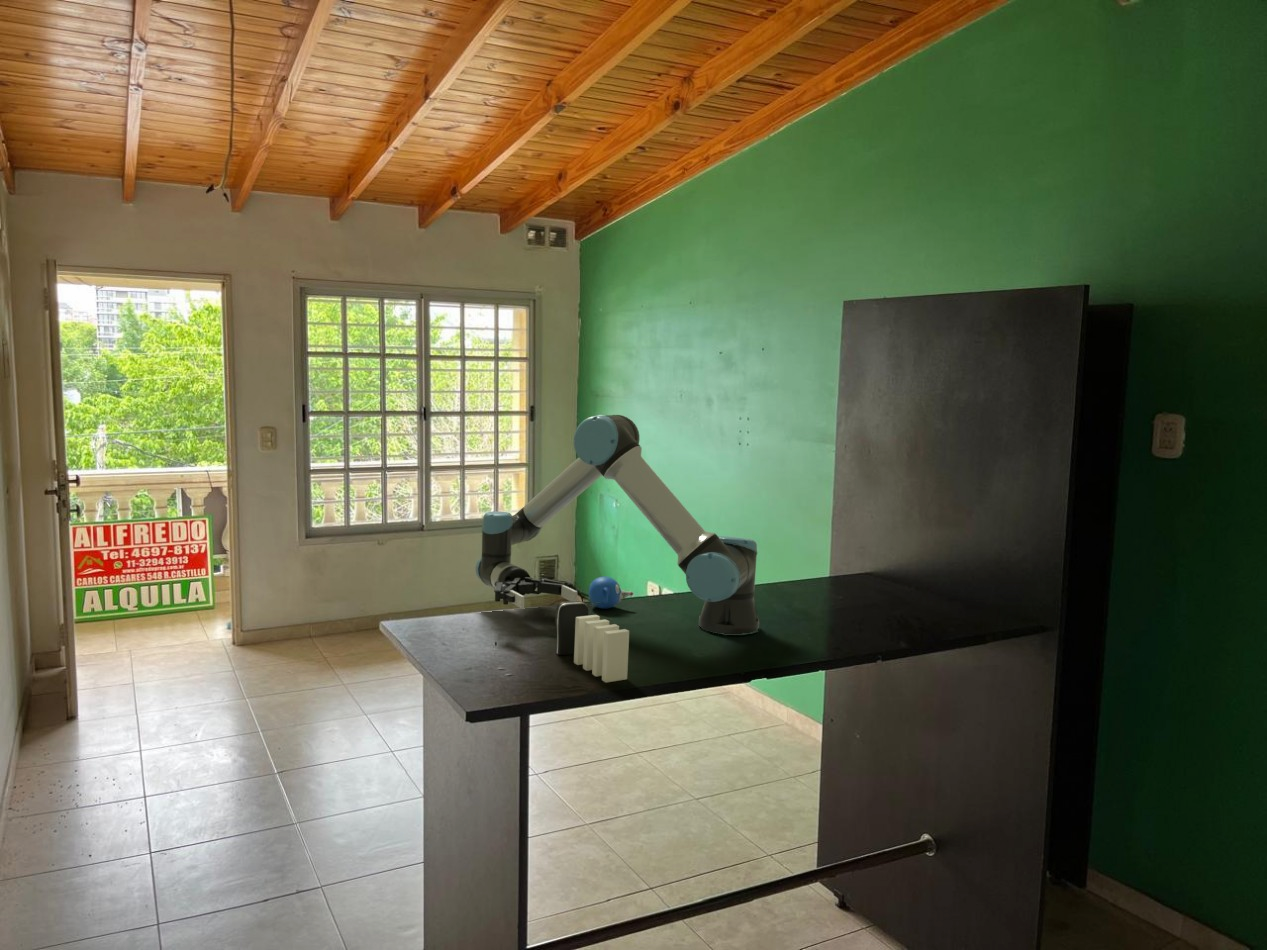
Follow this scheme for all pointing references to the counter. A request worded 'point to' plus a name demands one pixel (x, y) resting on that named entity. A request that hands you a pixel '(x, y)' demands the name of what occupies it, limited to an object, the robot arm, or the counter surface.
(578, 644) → the tile
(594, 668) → the tile
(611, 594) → the blue mole toy
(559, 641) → the battery charger
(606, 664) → the tile
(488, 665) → the counter surface
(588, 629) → the tile
